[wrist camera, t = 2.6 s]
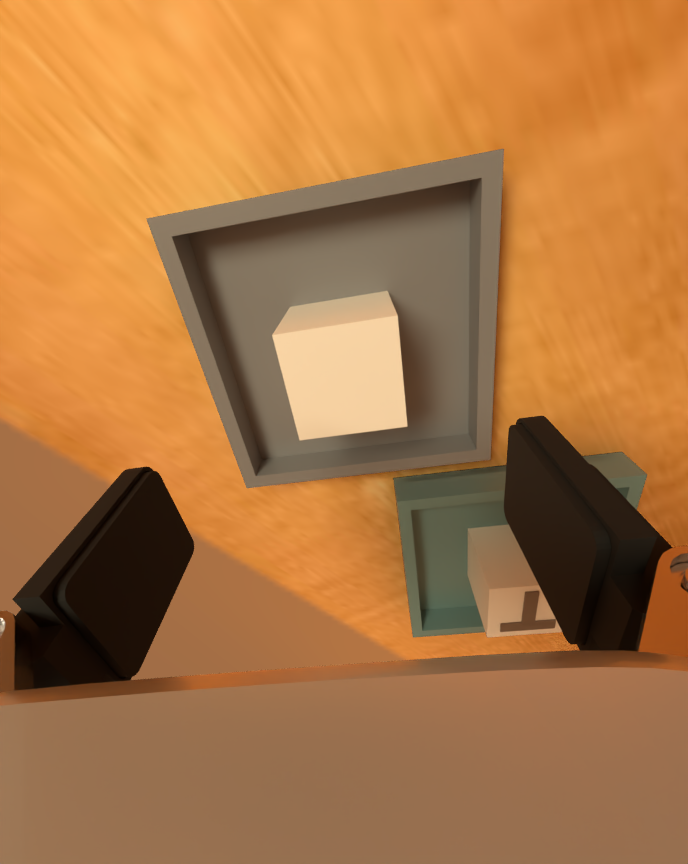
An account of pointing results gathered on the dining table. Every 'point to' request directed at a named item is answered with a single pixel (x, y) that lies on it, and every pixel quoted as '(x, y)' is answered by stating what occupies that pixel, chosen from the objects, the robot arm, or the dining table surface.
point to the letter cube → (506, 585)
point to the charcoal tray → (340, 278)
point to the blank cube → (342, 366)
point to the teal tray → (465, 536)
